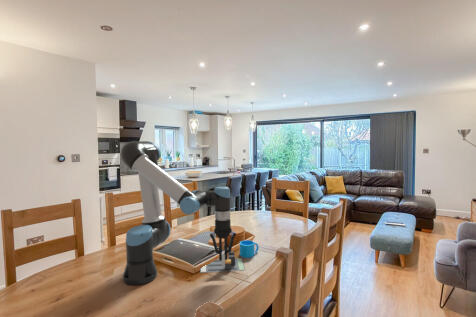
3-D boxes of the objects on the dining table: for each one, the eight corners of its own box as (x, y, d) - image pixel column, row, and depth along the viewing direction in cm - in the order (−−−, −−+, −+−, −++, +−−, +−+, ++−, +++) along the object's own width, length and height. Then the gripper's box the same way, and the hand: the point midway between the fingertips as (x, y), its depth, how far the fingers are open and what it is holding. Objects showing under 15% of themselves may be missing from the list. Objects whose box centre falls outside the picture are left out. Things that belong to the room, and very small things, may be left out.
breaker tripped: (225, 269, 128) (224, 261, 128) (224, 267, 130) (224, 259, 130) (231, 269, 128) (231, 261, 128) (230, 267, 131) (230, 259, 131)
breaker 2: (229, 265, 133) (229, 257, 133) (228, 262, 136) (228, 255, 135) (235, 264, 134) (235, 256, 133) (234, 262, 136) (234, 254, 136)
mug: (245, 261, 141) (245, 246, 141) (236, 256, 148) (236, 242, 147) (262, 256, 148) (262, 242, 147) (253, 251, 155) (253, 237, 154)
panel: (199, 275, 126) (199, 272, 126) (200, 262, 140) (200, 259, 140) (245, 273, 128) (245, 270, 128) (242, 260, 142) (242, 257, 142)
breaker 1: (228, 260, 138) (228, 253, 138) (228, 258, 141) (228, 251, 140) (234, 260, 139) (234, 252, 138) (233, 258, 141) (233, 250, 141)
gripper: (209, 221, 123) (209, 270, 125) (236, 220, 125) (237, 269, 126) (209, 217, 131) (209, 263, 132) (235, 216, 132) (235, 262, 133)
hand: (223, 266), depth 129 cm, fingers closed
